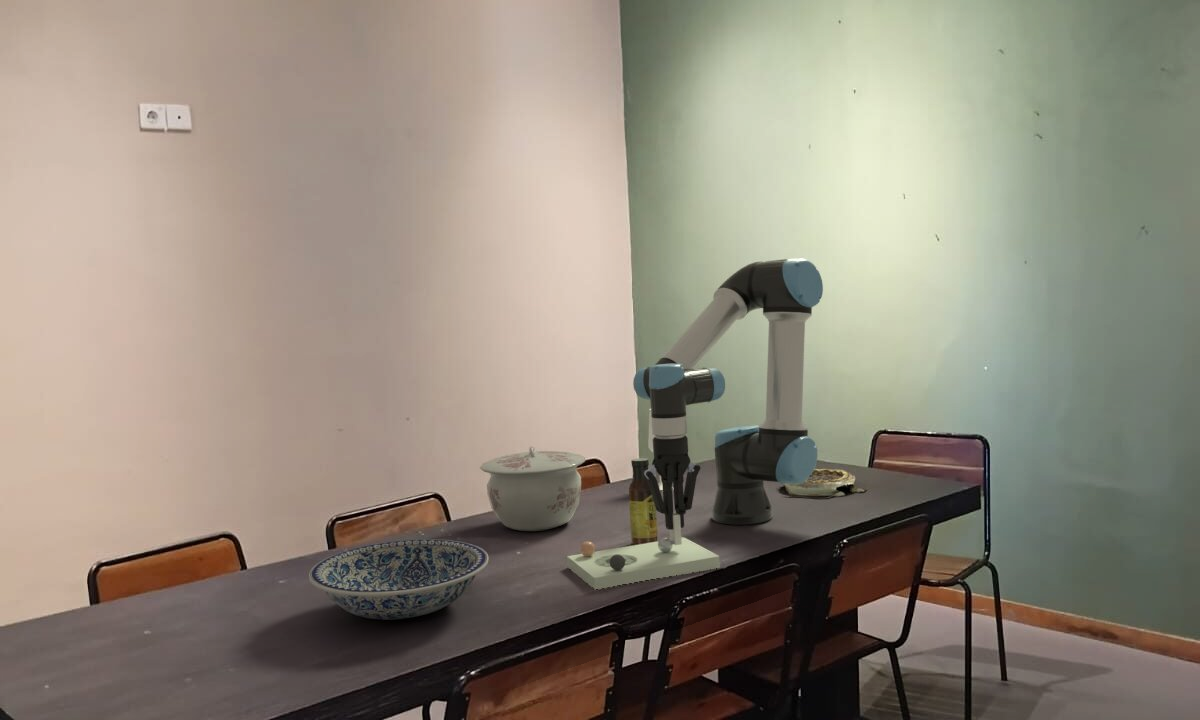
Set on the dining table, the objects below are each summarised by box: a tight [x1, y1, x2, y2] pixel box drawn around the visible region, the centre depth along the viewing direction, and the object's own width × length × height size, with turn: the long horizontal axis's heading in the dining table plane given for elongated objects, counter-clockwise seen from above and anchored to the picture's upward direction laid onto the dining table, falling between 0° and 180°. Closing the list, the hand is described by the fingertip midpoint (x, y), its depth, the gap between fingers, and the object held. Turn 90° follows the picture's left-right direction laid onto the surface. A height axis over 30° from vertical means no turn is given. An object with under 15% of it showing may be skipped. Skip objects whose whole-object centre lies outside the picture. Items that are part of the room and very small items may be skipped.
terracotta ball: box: [580, 540, 596, 556], centre depth 207 cm, size 3×3×3 cm
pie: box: [782, 468, 870, 500], centre depth 270 cm, size 28×27×5 cm
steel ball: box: [658, 537, 673, 553], centre depth 206 cm, size 3×3×3 cm
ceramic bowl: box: [308, 538, 489, 621], centre depth 186 cm, size 34×34×10 cm
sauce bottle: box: [628, 457, 658, 545], centre depth 223 cm, size 7×6×20 cm
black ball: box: [610, 554, 625, 570], centre depth 195 cm, size 3×3×3 cm
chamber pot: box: [479, 446, 586, 532], centre depth 248 cm, size 28×28×21 cm
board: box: [566, 536, 721, 591], centre depth 204 cm, size 28×18×2 cm, turn 110°
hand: (675, 543), depth 207 cm, fingers closed
